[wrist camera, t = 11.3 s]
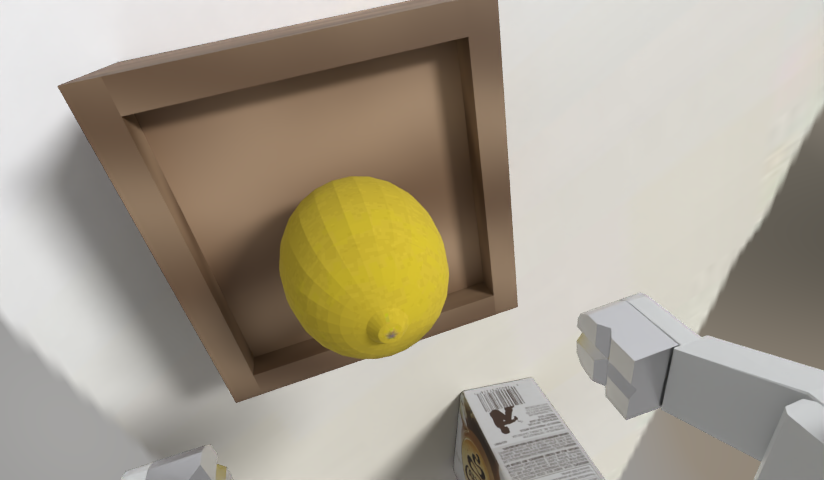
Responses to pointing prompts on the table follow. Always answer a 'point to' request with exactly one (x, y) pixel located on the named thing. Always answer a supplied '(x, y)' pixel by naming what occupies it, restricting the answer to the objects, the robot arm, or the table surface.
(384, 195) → the lemon
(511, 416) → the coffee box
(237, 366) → the walnut base
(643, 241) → the table surface
